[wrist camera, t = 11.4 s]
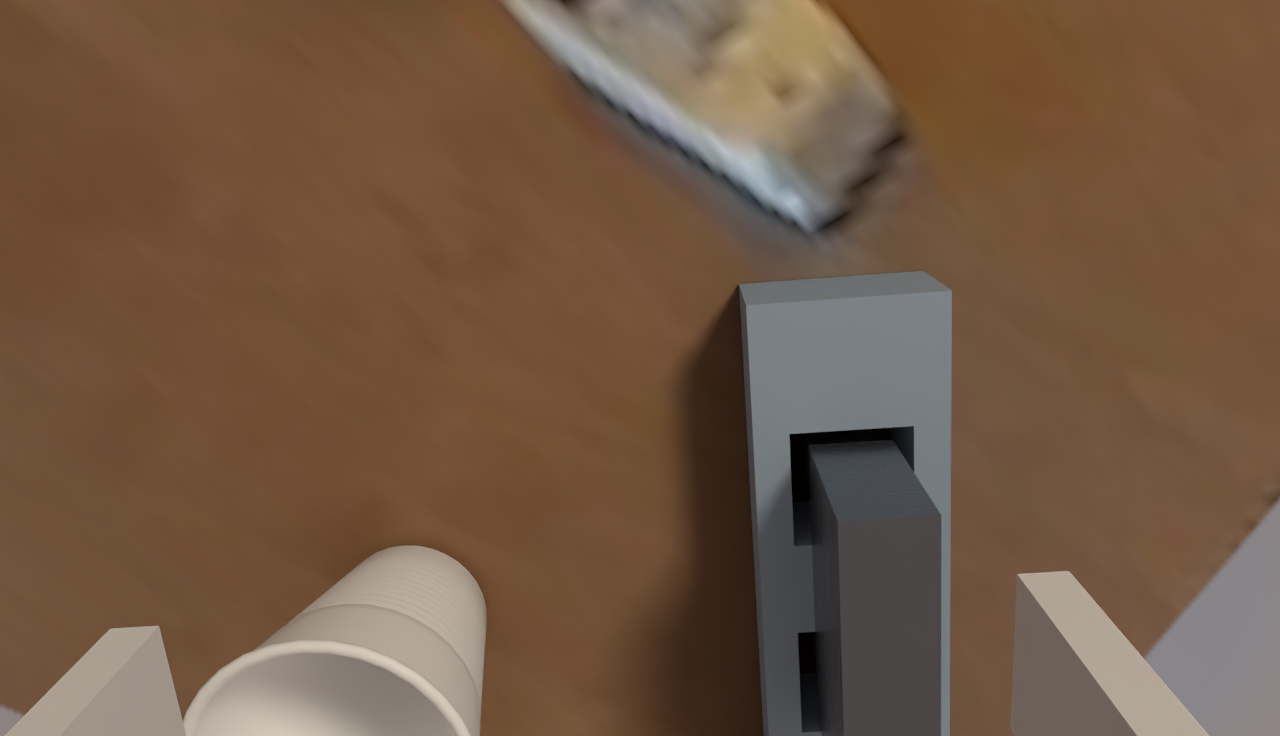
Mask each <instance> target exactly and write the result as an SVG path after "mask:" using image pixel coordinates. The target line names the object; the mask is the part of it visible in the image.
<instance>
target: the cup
mask: <svg viewBox="0 0 1280 736" xmlns="http://www.w3.org/2000/svg"><path fill="white" fill-rule="evenodd" d="M486 621H487V618H486V605H485V601H484V597H483V594H482V592H481V590H480V588H479V586H478V584H477V582H476V580H475V579H474V578H473V577H472V575H471V574H470V573H469V571H468V570H467V569H466V568H464V567H463V566H462V565H461V564H460V563H459V562H458V561H456V560H454V559H453V558H451V557H450V556H448V555H446V554H444V553H442V552H439V551H437V550H434V549H431V548H426V547H421V546H405V545H403V546H397V547H391V548H387V549H385V550H382V551H379V552H377V553H375V554H373V555H372V556H370V557H368V558H367V559H365V560H364V561H363V562H361V563H360V564H359V565H358V566H357V567H355V568H354V569H353V570H352V571H350V572H349V573H348V574H347V575H346V576H344V577H343V578H342V579H341V580H340V581H339V582H338V583H337V584H335V585H334V586H333V587H331V588H330V589H329V590H327V591H326V592H325V593H324V594H322V595H321V596H320V597H319V598H318V599H316V600H315V601H314V602H313V603H312V604H310V605H309V606H308V607H307V608H306V609H304V610H303V611H302V612H301V613H300V614H298V615H297V616H296V617H295V618H294V619H292V620H291V621H290V622H289V623H287V624H286V625H284V626H283V627H282V628H281V629H279V630H278V631H277V632H276V633H274V634H273V635H272V636H271V637H269V638H268V639H267V640H266V641H265V642H263V643H262V644H261V645H260V646H258V647H257V648H256V649H255V650H254V651H252V652H249V653H246V654H244V655H242V656H240V657H239V658H237V659H235V660H234V661H232V662H231V663H229V664H227V665H226V666H224V667H223V668H221V669H220V670H219V671H218V672H217V673H216V674H214V675H213V676H212V677H211V678H210V679H209V680H208V681H207V682H206V683H205V684H204V685H203V686H202V687H201V688H200V690H199V692H198V693H197V695H196V696H195V698H194V700H193V701H192V703H191V704H190V706H189V708H188V709H187V711H186V714H185V717H184V720H183V725H184V729H185V733H186V736H480V722H481V720H480V715H481V698H482V682H483V667H484V652H485V650H484V648H485V638H486Z"/></svg>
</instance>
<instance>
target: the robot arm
mask: <svg viewBox="0 0 1280 736" xmlns="http://www.w3.org/2000/svg"><path fill="white" fill-rule="evenodd" d="M1011 732H1012V733H1013V735H1014V736H1209V735H1208V734H1207V733H1206V731H1205V730H1204V729H1203V728H1202V727H1201V726H1200V724H1199V723H1198V722H1197V721H1196V720H1195V719H1194V717H1193V716H1192V715H1191V714H1190V713H1189V711H1187V709H1186V708H1185V707H1184V706H1183V705H1182V703H1181V702H1180V701H1179V700H1178V699H1177V697H1176V696H1175V695H1174V694H1173V693H1172V691H1171V690H1170V689H1169V688H1168V687H1167V686H1166V684H1165V683H1164V682H1163V681H1162V680H1161V679H1160V677H1159V676H1158V675H1157V674H1156V673H1155V672H1154V670H1153V669H1152V668H1151V667H1150V666H1149V664H1148V663H1147V662H1146V661H1145V660H1144V659H1143V657H1142V656H1141V655H1140V654H1139V653H1138V652H1137V650H1136V649H1135V648H1134V647H1133V646H1132V644H1131V643H1130V642H1129V641H1128V640H1127V639H1126V637H1125V636H1124V635H1123V634H1122V633H1121V632H1120V630H1119V629H1118V628H1117V627H1116V626H1115V625H1114V623H1113V622H1112V621H1111V620H1110V619H1109V617H1108V616H1107V615H1106V614H1105V613H1104V612H1103V610H1102V609H1101V608H1100V607H1099V606H1098V605H1097V603H1096V602H1095V601H1094V600H1093V599H1092V598H1091V596H1090V595H1089V594H1088V593H1087V592H1086V590H1085V589H1084V588H1083V587H1082V586H1081V585H1080V583H1079V582H1078V581H1077V580H1076V579H1075V578H1074V576H1073V575H1072V574H1071V573H1070V572H1069V571H1061V572H1044V573H1028V574H1017V592H1016V615H1015V638H1014V661H1013V685H1012V708H1011ZM5 736H186V733H185V729H184V725H183V721H182V717H181V713H180V709H179V705H178V701H177V697H176V693H175V689H174V685H173V681H172V677H171V673H170V669H169V665H168V661H167V656H166V652H165V648H164V644H163V640H162V636H161V632H160V628H159V626H147V627H131V628H114V629H110V630H109V631H108V632H107V633H106V634H105V635H104V636H103V637H102V638H101V639H100V640H99V641H98V642H97V643H96V644H95V645H94V646H93V647H92V648H91V649H90V650H89V651H88V652H87V653H86V654H85V655H84V656H83V657H82V658H81V659H80V660H79V661H78V662H77V663H76V664H75V665H74V666H73V667H72V668H71V669H70V670H69V671H68V672H67V673H66V674H65V675H64V676H63V677H62V678H61V679H60V680H59V681H58V682H57V683H56V684H55V685H54V686H53V687H52V688H51V689H50V690H49V691H48V692H47V693H46V694H45V695H44V696H43V697H42V698H41V699H40V700H39V701H38V702H37V703H36V704H35V705H34V706H33V707H32V709H31V710H30V711H29V712H28V713H27V714H26V715H25V716H24V717H23V718H22V719H21V720H20V721H19V722H18V723H17V724H16V725H15V726H14V727H13V728H12V729H11V730H10V731H9V732H8V733H7V734H6V735H5Z"/></svg>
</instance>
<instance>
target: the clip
mask: <svg viewBox="0 0 1280 736" xmlns="http://www.w3.org/2000/svg"><path fill="white" fill-rule="evenodd" d="M805 449H806V475H807V486H808V489H809V492H810V505H811V532H812V559H813V586H814V613H815V632H812V634H813V659H814V663H815V667H816V672H817V694H818V721H819V726H820V731H821V735H822V736H941V514H940V512H939V511H938V509H937V508H936V506H935V505H934V503H933V501H932V500H931V498H930V497H929V495H928V494H927V492H926V491H925V489H924V487H923V486H922V484H921V483H920V481H919V480H918V478H917V477H916V475H915V473H914V472H913V470H912V469H911V467H910V466H909V464H908V463H907V461H906V459H905V458H904V456H903V455H902V453H901V452H900V450H899V449H898V447H897V445H896V444H895V442H894V441H893V440H881V441H876V439H875V438H874V436H873V434H872V433H871V431H870V429H861V430H845V431H829V432H814V433H805Z"/></svg>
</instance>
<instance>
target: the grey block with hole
mask: <svg viewBox="0 0 1280 736" xmlns="http://www.w3.org/2000/svg"><path fill="white" fill-rule="evenodd" d="M739 297H740V315H741V334H742V352H743V370H744V388H745V407H746V425H747V443H748V462H749V480H750V498H751V517H752V535H753V553H754V572H755V590H756V608H757V626H758V645H759V663H760V681H761V700H762V718H763V736H822V735H821V731H820V726H819V721H818V694H817V672H816V673H800V672H799V649H798V633H802V632H815V613H814V586H813V559H812V532H811V505H810V501H803V502H792V483H791V459H790V436H789V434H798V433H814V432H829V431H845V430H861V429H876V428H890V440H893V441H894V442H895V444H896V445H897V447H898V449H899V450H900V452H901V453H902V455H903V456H904V458H905V459H906V461H907V463H908V464H909V466H910V467H911V469H912V470H913V472H914V473H915V475H916V477H917V478H918V480H919V481H920V483H921V484H922V486H923V487H924V489H925V491H926V492H927V494H928V495H929V497H930V498H931V500H932V501H933V503H934V505H935V506H936V508H937V509H938V511H939V512H940V514H941V736H950V543H951V341H952V290H950V289H949V288H947V287H946V286H944V285H943V284H941V283H940V282H938V281H937V280H935V279H934V278H933V277H931V276H930V275H928V274H927V273H925V272H924V271H913V272H899V273H885V274H872V275H858V276H844V277H831V278H817V279H803V280H790V281H776V282H762V283H749V284H739Z"/></svg>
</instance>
